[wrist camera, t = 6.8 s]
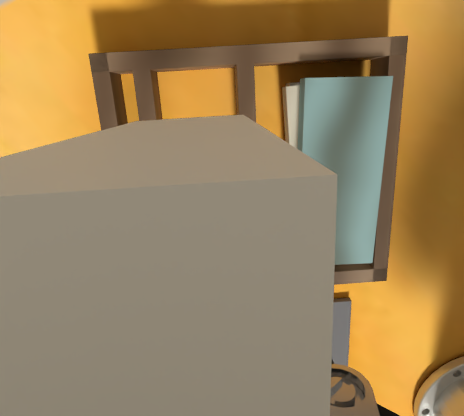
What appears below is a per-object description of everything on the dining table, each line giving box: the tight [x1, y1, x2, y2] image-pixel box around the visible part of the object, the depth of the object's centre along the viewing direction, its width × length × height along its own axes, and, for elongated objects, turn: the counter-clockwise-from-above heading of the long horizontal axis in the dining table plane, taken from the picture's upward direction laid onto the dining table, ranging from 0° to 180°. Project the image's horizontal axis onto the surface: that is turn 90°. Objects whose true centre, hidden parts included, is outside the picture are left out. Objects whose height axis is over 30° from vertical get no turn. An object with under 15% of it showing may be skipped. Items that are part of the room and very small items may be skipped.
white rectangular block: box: [0, 115, 337, 416], centre depth 10 cm, size 4×12×11 cm, turn 3°
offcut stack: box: [282, 76, 393, 265], centre depth 28 cm, size 7×14×4 cm, turn 3°
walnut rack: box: [89, 36, 408, 285], centre depth 29 cm, size 22×19×3 cm
